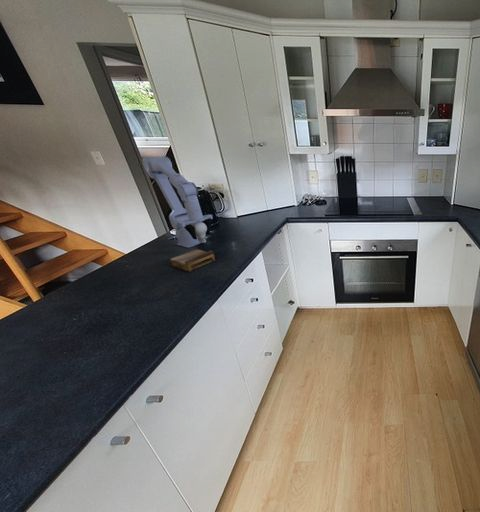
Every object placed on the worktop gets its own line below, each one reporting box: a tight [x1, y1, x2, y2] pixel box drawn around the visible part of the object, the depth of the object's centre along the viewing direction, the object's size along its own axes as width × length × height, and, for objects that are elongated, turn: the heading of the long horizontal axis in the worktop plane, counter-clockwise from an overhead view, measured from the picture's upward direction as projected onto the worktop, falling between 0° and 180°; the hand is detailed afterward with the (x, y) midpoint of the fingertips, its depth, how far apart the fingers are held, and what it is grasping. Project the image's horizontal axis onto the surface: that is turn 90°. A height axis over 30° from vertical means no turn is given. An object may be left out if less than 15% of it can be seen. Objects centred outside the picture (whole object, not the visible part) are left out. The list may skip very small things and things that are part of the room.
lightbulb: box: [192, 222, 207, 244], centre depth 132 cm, size 6×6×11 cm
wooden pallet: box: [170, 248, 216, 273], centre depth 123 cm, size 12×12×5 cm
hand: (201, 236), depth 133 cm, fingers closed on lightbulb, 6 cm apart
